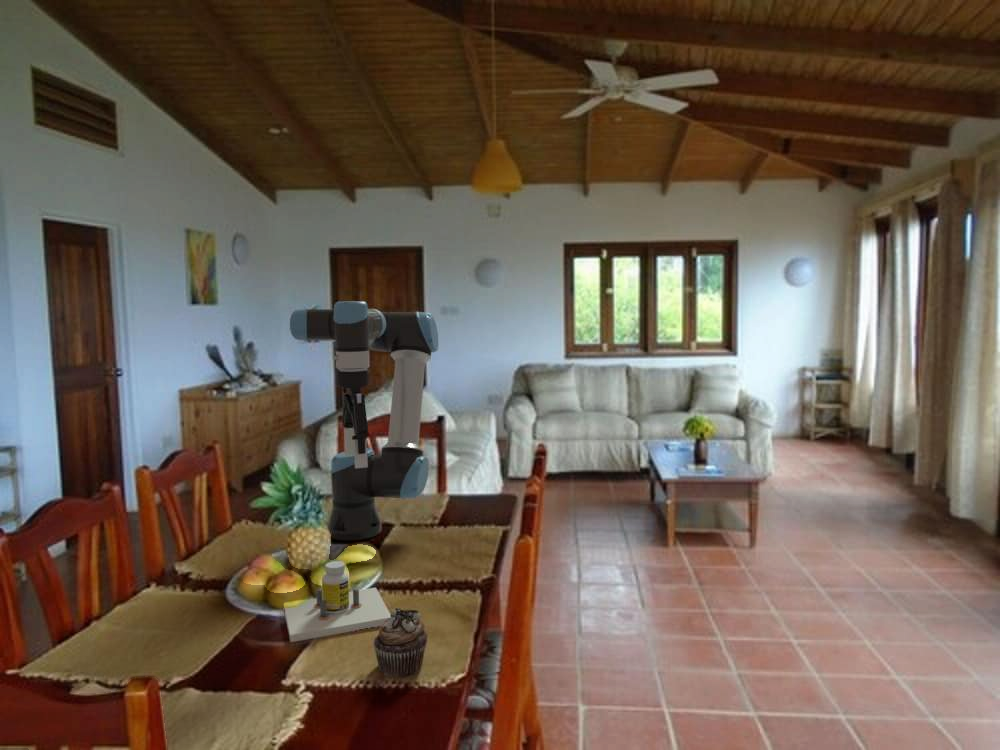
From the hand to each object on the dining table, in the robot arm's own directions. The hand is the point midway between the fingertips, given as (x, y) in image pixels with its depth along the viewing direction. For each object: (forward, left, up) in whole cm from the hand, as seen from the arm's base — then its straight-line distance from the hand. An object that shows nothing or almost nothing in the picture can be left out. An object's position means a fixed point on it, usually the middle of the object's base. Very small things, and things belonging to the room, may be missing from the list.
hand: (355, 461), depth 165 cm
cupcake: (+42, 0, -29) cm, 51 cm away
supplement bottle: (+17, -8, -27) cm, 33 cm away
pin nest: (+17, -8, -29) cm, 34 cm away
